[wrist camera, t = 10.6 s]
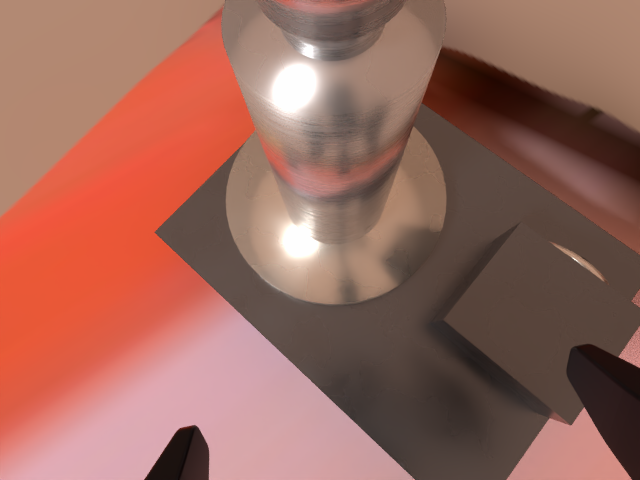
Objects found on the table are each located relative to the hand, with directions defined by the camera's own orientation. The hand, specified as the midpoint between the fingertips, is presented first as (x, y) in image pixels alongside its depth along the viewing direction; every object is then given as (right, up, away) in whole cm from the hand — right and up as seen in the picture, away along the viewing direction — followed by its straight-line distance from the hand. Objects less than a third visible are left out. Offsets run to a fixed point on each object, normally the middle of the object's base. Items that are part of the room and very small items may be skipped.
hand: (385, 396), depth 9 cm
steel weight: (-1, +6, +10) cm, 12 cm away
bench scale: (+2, +3, +13) cm, 14 cm away
